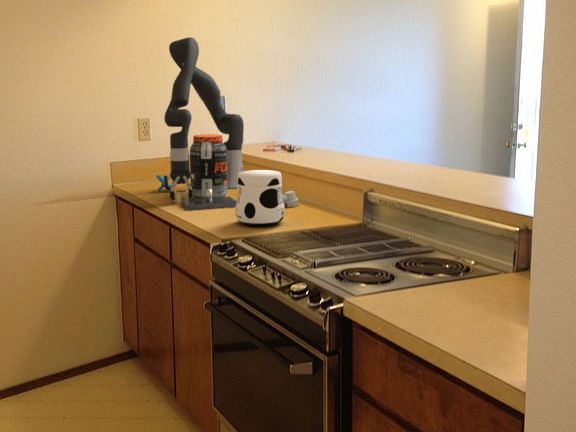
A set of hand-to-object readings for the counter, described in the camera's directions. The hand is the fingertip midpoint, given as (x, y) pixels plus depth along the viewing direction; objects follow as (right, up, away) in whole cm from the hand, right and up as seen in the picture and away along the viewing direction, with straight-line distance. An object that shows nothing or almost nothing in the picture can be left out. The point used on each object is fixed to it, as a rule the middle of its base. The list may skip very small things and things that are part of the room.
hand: (181, 199), depth 289 cm
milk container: (+34, -10, -39) cm, 52 cm away
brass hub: (0, -1, 0) cm, 1 cm away
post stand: (+12, -3, -7) cm, 14 cm away
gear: (-11, +4, +27) cm, 29 cm away
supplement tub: (+10, +2, +16) cm, 18 cm away
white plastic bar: (+37, -5, -13) cm, 39 cm away
